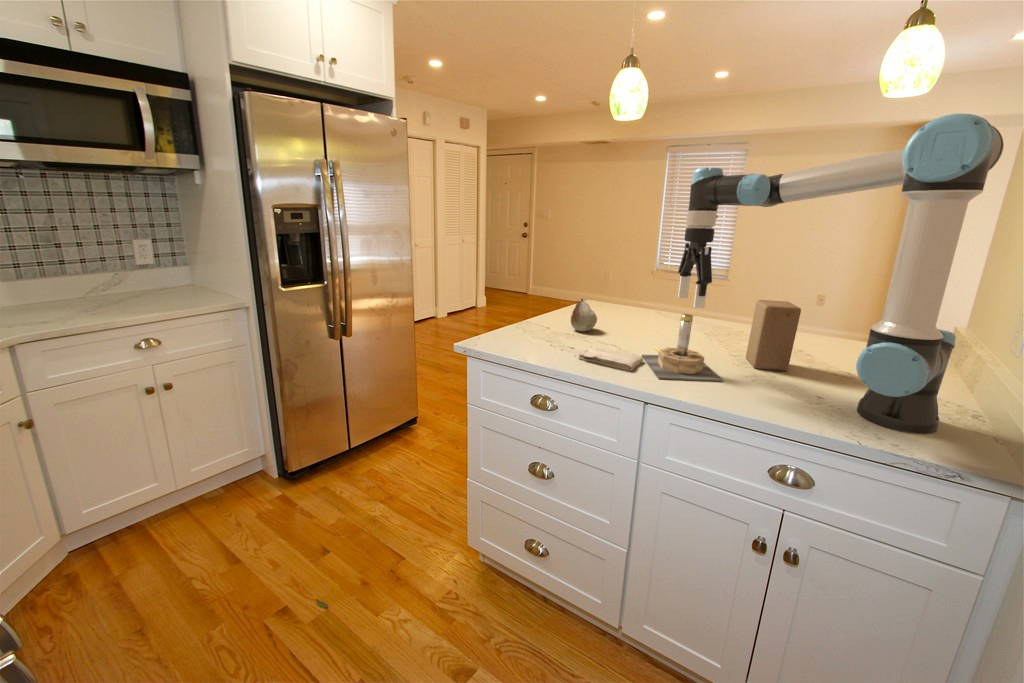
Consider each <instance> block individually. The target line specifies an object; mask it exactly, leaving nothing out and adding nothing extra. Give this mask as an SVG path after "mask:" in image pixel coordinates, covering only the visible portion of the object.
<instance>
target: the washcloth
mask: <svg viewBox="0 0 1024 683" xmlns="http://www.w3.org/2000/svg"><path fill="white" fill-rule="evenodd" d="M577 358H578V359H579V360H581V361H584V362H585V363H586V362H587V363H591V364H594V365H598V366H603V367H607V368H611V369H616V370H620V371H625V372H632V371H633V370H634V369H635V368H636V367H638V366H639V365H640V364H641V363H643V361H644V359H643V357H642V355H638V354H633V353H628V352H627V351H626V352H625V351H621V350H617V349H613V348H608V347H604V346H603V347H602V346H598V345H593V346H590V347H589V348H588V349H585V350H584V351H582V352H580V353H578V357H577Z"/></svg>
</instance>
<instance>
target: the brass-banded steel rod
mask: <svg viewBox="0 0 1024 683" xmlns="http://www.w3.org/2000/svg"><path fill="white" fill-rule="evenodd" d="M693 319H694V315H693V314H689V313H681V315H680V324H679V330H678V338H677V342H676V348H677V350H676V355H677V356H682V357H687V353H688V349H689V346H690V341H691V340H690V338H691V332H692V327H693V321H694V320H693Z"/></svg>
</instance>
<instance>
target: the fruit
mask: <svg viewBox="0 0 1024 683" xmlns="http://www.w3.org/2000/svg"><path fill="white" fill-rule="evenodd" d="M597 320H598V316H597V315H596V313H595V311H594V310H593V309H592V308H591V306H590V304H588V302H587V301H584V298H580V301H578V302H577V303H576V304H575V306H574V309H573V311H572V313H571V315H570V324H571V327H572V328H573V330H575V331H577V332H582V333H583V332H589V331H591V330H593V328H594V327H595V326H596V325H597V322H598V321H597Z"/></svg>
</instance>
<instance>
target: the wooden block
mask: <svg viewBox="0 0 1024 683" xmlns="http://www.w3.org/2000/svg"><path fill="white" fill-rule="evenodd" d="M801 314H802V309H801V307H799V306H797V305H795V304H794V303H791V302H790V301H785V300H772V299H771V300H767V299H766V300H765V299H759V300H756V302H755V308H754V312H753V318H752V323H751V327H750V328H751V329H750V333H749V338H748V344H747V347H746V348H747V349H746V354H745V360H747V362H748V363H749V364H750V365H751V366H752V367H753V368H755V369H758V370H768V371H769V370H770V371H781V372H786V371H788V370H789V366H790V361H791V357H792V352H793V349H794V344H795V339H796V334H797V330H798V325H799V321H800V317H801Z"/></svg>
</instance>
